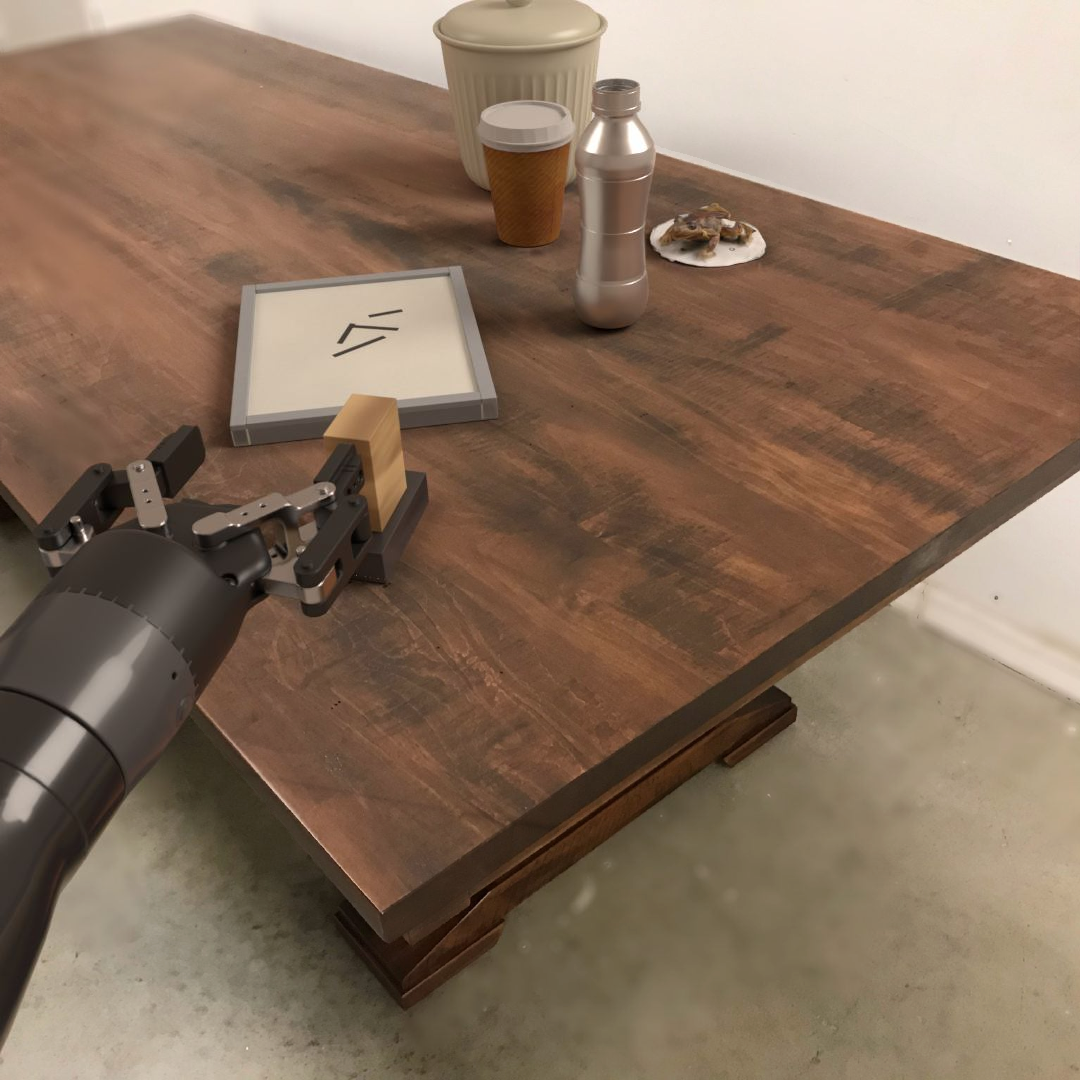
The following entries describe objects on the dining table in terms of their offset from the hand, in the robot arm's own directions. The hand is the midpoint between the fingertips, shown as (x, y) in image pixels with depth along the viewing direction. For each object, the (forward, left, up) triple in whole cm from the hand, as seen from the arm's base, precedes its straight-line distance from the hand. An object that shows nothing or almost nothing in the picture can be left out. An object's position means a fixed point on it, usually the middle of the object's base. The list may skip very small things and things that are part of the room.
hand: (272, 448), depth 56 cm
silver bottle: (+26, +37, -15) cm, 48 cm away
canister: (+24, +72, -15) cm, 78 cm away
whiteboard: (+4, +35, -14) cm, 39 cm away
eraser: (+4, +10, -14) cm, 18 cm away
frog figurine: (+39, +51, -15) cm, 66 cm away
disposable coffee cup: (+22, +57, -15) cm, 63 cm away
